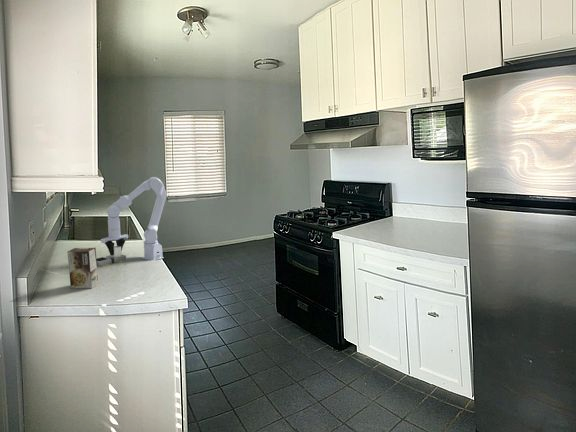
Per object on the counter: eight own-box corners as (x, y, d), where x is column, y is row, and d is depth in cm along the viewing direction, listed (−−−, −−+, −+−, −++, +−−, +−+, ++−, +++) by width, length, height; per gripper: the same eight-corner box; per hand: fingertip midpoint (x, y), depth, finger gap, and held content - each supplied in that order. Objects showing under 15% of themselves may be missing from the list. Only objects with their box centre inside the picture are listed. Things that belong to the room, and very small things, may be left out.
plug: (121, 259, 204) (121, 246, 203) (115, 261, 201) (114, 248, 200) (116, 258, 207) (115, 245, 206) (109, 260, 203) (108, 247, 202)
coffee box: (98, 283, 168) (96, 247, 166) (91, 288, 162) (89, 251, 159) (77, 283, 168) (74, 247, 165) (69, 288, 161) (66, 251, 159)
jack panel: (127, 261, 205) (127, 255, 204) (99, 268, 191) (99, 262, 191) (117, 258, 209) (117, 253, 209) (88, 265, 196) (88, 259, 195)
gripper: (121, 225, 209) (123, 250, 211) (96, 229, 197) (98, 255, 199) (130, 227, 206) (131, 252, 208) (105, 231, 193) (106, 257, 195)
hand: (115, 254), depth 203 cm, fingers closed on plug, 4 cm apart
